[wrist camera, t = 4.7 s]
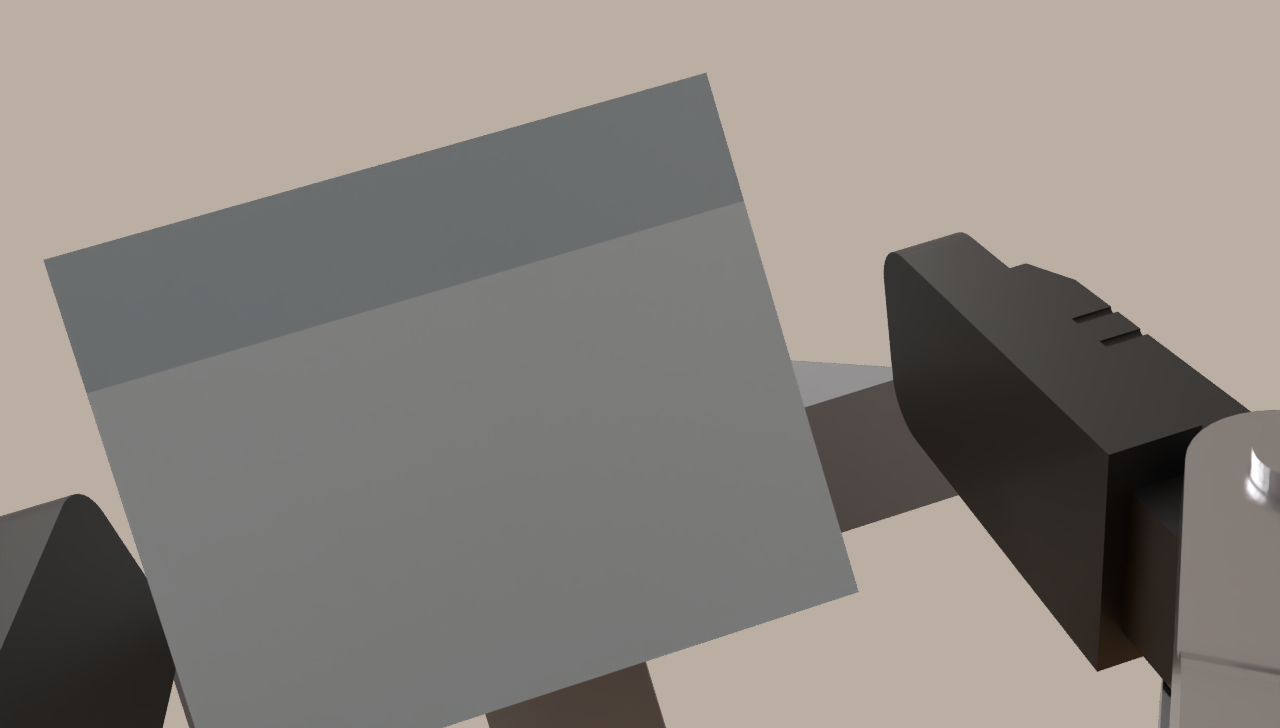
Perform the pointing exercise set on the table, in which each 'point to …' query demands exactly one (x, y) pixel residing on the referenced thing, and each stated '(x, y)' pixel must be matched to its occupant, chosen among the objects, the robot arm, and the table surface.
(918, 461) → the grey gallows post
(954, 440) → the robot arm
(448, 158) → the grey rectangular box
